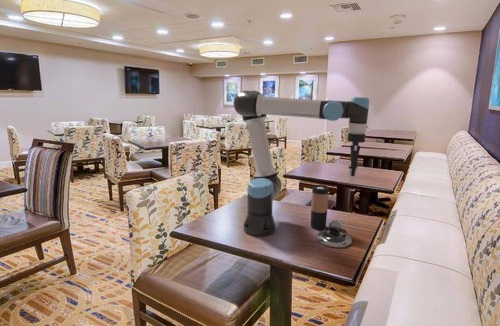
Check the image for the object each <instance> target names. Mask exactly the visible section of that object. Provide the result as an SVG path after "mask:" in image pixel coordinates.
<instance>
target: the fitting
mask: <svg viewBox="0 0 500 326" xmlns="http://www.w3.org/2000/svg"><path fill="white" fill-rule="evenodd" d="M328 229H329V230H325V229H323V230H321V231H319V232H318V233H317V234H316V240H317V242H318V243H320V244H321V245H322V246H326V247H328V248H334V249H344V248H348V247H349V246H351V245H352V241H353V239H352V237H351V236H350V235H348V233H346V232H341V230H342V224H341V221H340V220H339V219H338V218H333V219H332V220H331V221H330V223H329V224H328Z"/></svg>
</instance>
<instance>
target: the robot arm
mask: <svg viewBox="0 0 500 326" xmlns="http://www.w3.org/2000/svg"><path fill="white" fill-rule="evenodd" d="M233 108H234V111H235V112H236V113H237V114H238V115H239V116H242V122H243V123H245V124H246V126H247V131H248V136H249V141H250V147H251V151H252V157H253V162H254V167H255V173H254V175H253V177H254V178H253V179H251V180H249V182H248V183H247V188H246V189H247V190H246V193H247V195H246V196H247V201H246V203H247V204H246V205H247V208H246V209H247V213H246V216H245V219H244V222H243V232H244V233H246V234H247V235H250V236H257V237H266V236H270V235H273V234H274V233H276V228H277V227H276V222H275V219H274V215H273V202H274V200H275V198H276V197H277V196H279V194H280V192H281V190H282V181H281V179H280V178H279V176H278V172H277V170H276V169H274V166H273V165H274V164H273V160H272V155H271V151H270V145H269V139H268V133H267V128H266V122H265V120H266V119H267V117H268V116H269V115H270V116H281V117H282V116H283V117H293V118H294V117H296V118H307V119H317V120H328V121H331V122H332V121H335V122H336V121H338V120H339V119H348V120H349V121H348V126H347V127H348V129H347V131H348V133H347V137H346V140H347V142H349V143H351V144H350V161H349V166H348V169H349V170H348V176H349V177H348V184H354V185H355V184H356V178H357V170H358V159H359V155H360V150H361V146H360V145H359V143H360V144H361V143H365V142H366V133H367V129H368V128H369V126H368V125H367V124H368V119H369V118H368V117H369V110H370V109H369V108H370V99H369V98H368V97H361V96H359V97H358V96H353V97H351V99H350V101H344V100H319V99H307V98H306V99H303V98H292V97H291V98H289V97H277V96H264V94H263V93H261V92H259V91H258V90H242V91H240V92H238V93H237V94H236V95H235V97H234V99H233ZM267 115H268V116H267Z"/></svg>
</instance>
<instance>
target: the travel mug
mask: <svg viewBox="0 0 500 326" xmlns="http://www.w3.org/2000/svg"><path fill="white" fill-rule="evenodd" d="M311 189H312V190H311V206H310V228H311V229H314V230H317V231H323V230H325V229H326V228H327V220H328V219H327V217H328V208H329V207H328V206H329V203H328V202H329V189H330V187H329V186H328V185H324V184H316V185H315V186H314V185H313V186H312V187H311Z"/></svg>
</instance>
